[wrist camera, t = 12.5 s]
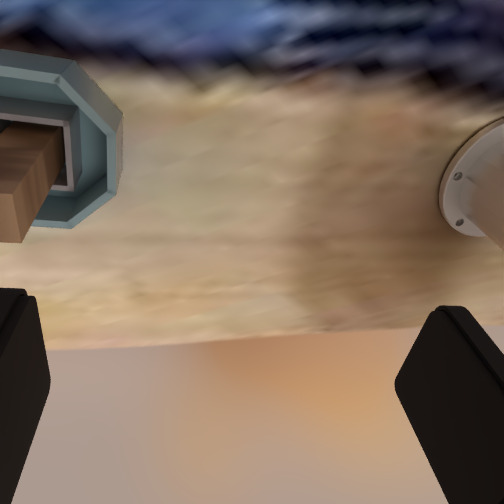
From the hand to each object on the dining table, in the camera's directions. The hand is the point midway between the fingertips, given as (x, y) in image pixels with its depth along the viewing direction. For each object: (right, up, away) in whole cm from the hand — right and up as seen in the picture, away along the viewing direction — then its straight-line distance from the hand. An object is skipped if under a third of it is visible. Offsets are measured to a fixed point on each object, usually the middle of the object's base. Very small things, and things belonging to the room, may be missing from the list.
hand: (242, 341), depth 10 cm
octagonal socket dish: (-16, +11, +21) cm, 29 cm away
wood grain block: (-15, +11, +21) cm, 28 cm away
